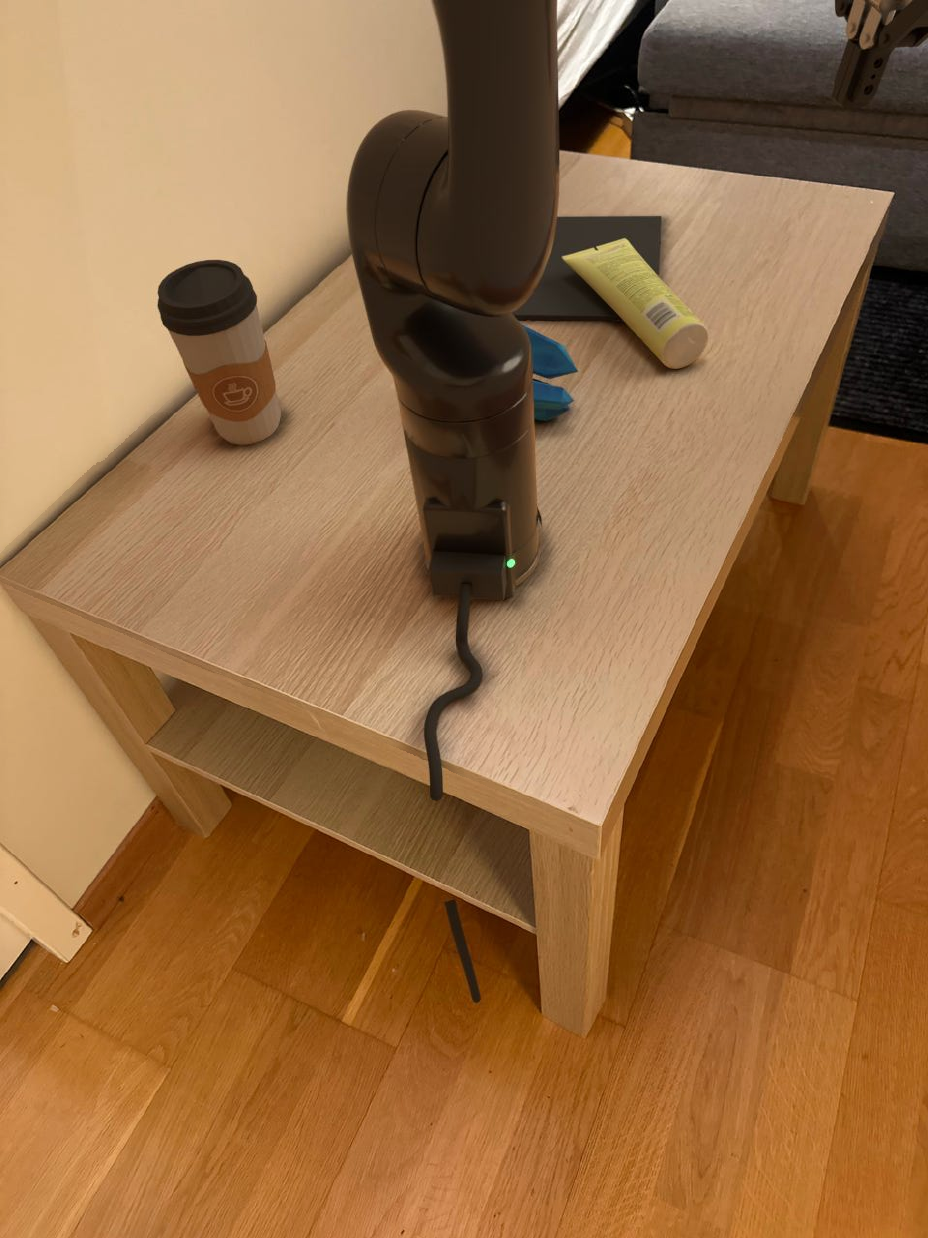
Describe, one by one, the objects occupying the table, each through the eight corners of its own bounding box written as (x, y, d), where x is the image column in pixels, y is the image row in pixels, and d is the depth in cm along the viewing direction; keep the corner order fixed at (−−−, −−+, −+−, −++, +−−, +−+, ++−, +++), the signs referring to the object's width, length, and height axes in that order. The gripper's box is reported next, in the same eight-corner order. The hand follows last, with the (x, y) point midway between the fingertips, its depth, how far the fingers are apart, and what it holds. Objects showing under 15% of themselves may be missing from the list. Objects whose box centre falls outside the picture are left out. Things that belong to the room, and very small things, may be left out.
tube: (688, 379, 87) (595, 277, 98) (724, 336, 84) (625, 236, 96) (652, 360, 83) (560, 257, 95) (689, 315, 81) (590, 214, 92)
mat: (656, 321, 91) (656, 316, 90) (444, 318, 95) (443, 313, 94) (661, 220, 103) (661, 215, 102) (472, 221, 107) (472, 216, 106)
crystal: (573, 383, 75) (446, 329, 77) (552, 455, 82) (437, 403, 84) (605, 334, 79) (483, 283, 81) (582, 406, 86) (471, 358, 88)
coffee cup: (211, 462, 83) (153, 321, 72) (203, 409, 89) (148, 269, 77) (298, 440, 84) (255, 297, 72) (286, 389, 89) (244, 247, 78)
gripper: (845, -269, 50) (754, 68, 64) (990, -213, 43) (852, 155, 57) (957, -270, 52) (845, 59, 66) (1117, -216, 44) (953, 143, 58)
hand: (849, 103), depth 61 cm, fingers closed
